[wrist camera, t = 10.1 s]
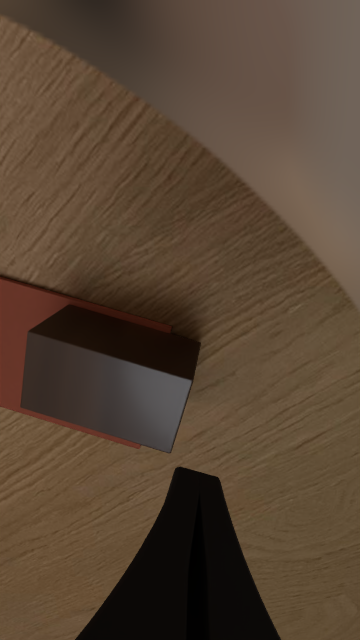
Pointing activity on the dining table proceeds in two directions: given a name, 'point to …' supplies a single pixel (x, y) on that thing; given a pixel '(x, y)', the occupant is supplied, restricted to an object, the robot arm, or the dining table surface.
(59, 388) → the walnut block
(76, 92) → the dining table surface
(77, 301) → the terracotta mat
